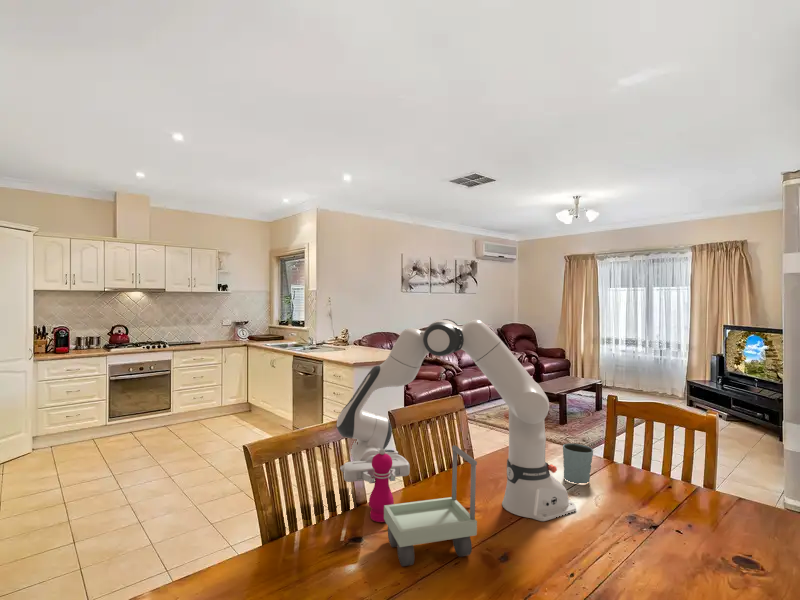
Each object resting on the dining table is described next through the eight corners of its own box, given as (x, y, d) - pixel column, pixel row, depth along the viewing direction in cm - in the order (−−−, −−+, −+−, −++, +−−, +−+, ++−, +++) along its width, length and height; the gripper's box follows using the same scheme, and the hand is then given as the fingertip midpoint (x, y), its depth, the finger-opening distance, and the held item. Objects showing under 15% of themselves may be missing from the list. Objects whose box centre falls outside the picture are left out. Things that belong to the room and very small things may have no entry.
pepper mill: (390, 524, 125) (391, 454, 125) (365, 521, 127) (366, 451, 127) (395, 512, 133) (397, 445, 132) (372, 509, 134) (373, 443, 134)
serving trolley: (452, 529, 124) (454, 443, 124) (476, 559, 110) (479, 461, 110) (382, 540, 118) (384, 449, 118) (399, 572, 104) (401, 469, 104)
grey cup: (556, 476, 164) (557, 444, 164) (579, 474, 167) (579, 442, 167) (574, 488, 154) (575, 453, 154) (598, 485, 157) (599, 451, 157)
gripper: (339, 455, 139) (347, 472, 126) (401, 449, 145) (415, 465, 132) (338, 475, 139) (347, 494, 126) (401, 469, 145) (415, 486, 132)
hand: (382, 479), depth 129 cm, fingers closed on pepper mill, 5 cm apart
